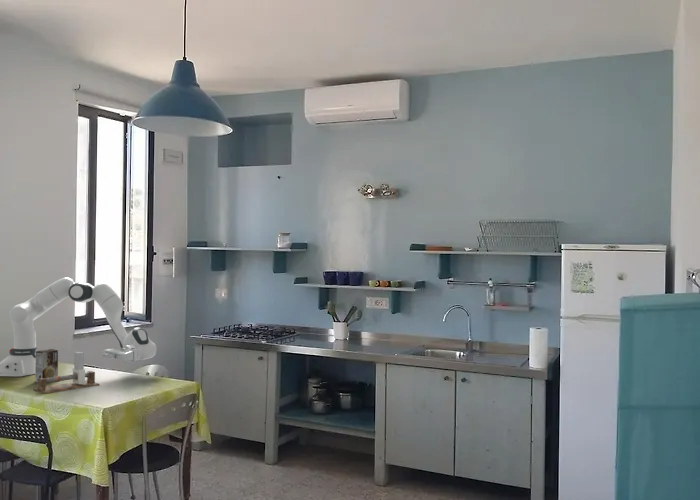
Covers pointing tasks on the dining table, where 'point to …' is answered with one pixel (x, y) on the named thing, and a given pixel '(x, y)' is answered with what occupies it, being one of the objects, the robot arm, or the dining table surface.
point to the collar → (79, 367)
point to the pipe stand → (63, 387)
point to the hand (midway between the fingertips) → (104, 356)
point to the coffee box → (46, 364)
